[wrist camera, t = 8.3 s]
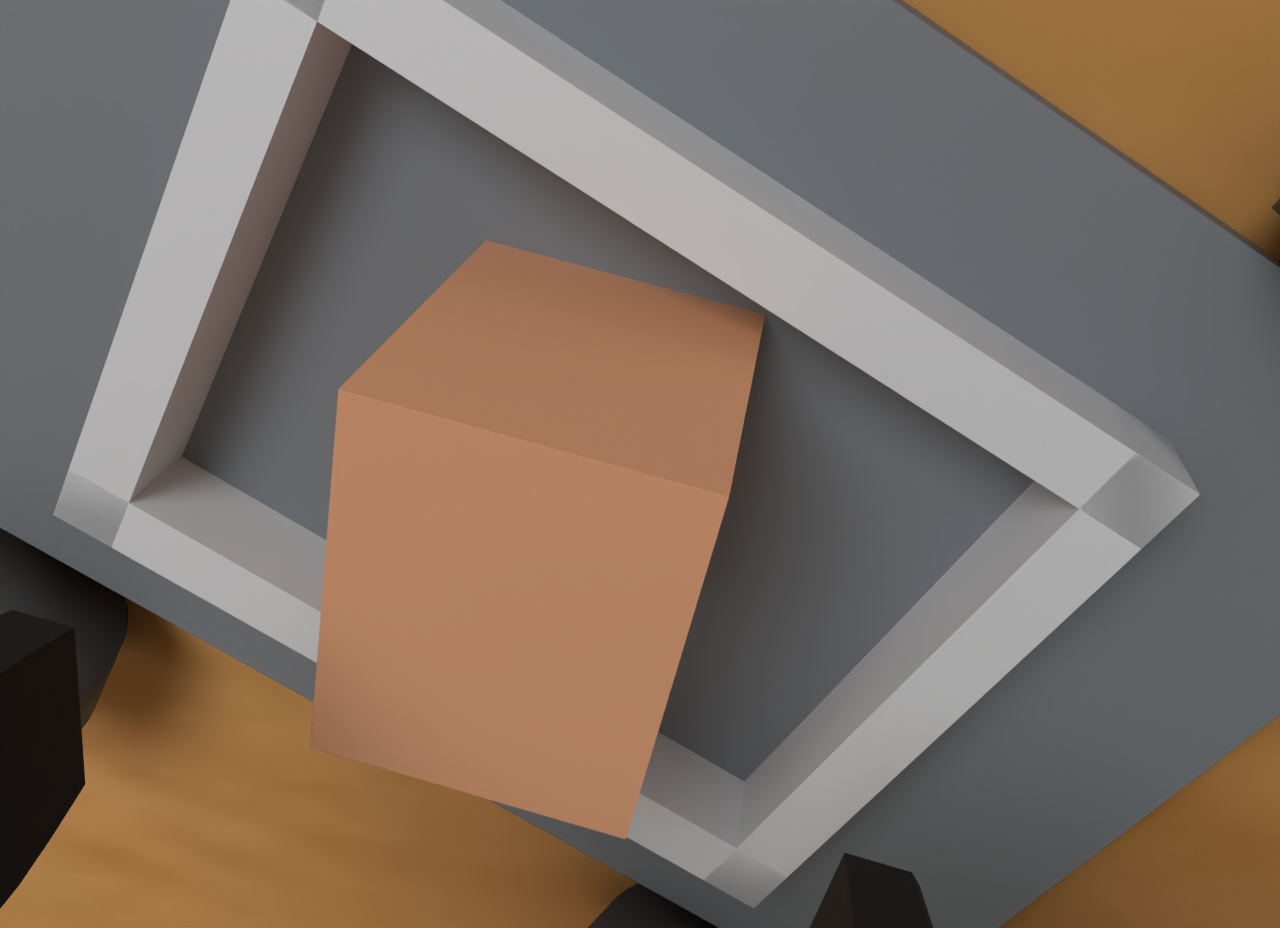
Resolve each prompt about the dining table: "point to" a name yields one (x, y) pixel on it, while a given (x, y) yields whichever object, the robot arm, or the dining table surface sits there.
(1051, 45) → the dining table surface
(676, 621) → the orange block
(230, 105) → the chassis
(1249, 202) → the dining table surface
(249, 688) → the dining table surface
